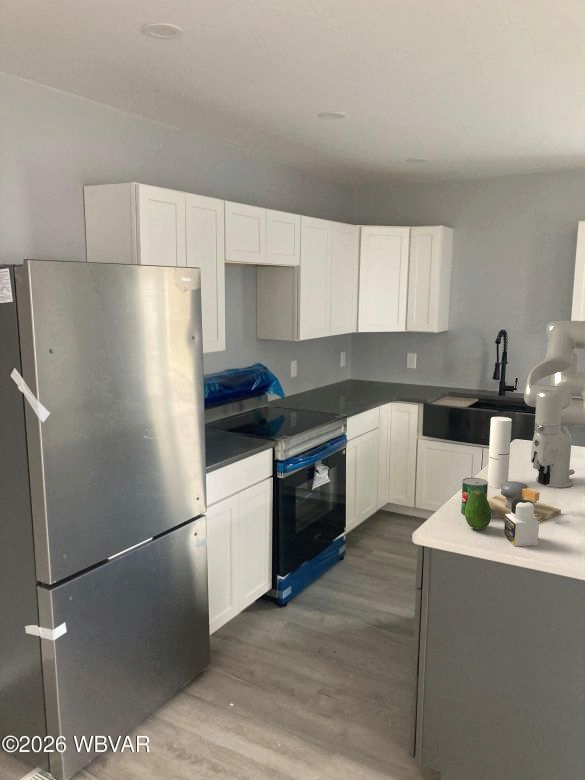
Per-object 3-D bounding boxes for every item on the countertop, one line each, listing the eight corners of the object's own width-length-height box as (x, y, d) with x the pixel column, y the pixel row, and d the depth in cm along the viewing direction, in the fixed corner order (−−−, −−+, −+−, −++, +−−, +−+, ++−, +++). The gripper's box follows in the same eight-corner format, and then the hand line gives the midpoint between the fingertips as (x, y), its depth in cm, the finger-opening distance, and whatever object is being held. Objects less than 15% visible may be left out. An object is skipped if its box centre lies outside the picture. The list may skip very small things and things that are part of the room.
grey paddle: (495, 492, 205) (496, 483, 205) (512, 489, 209) (513, 479, 208) (527, 505, 194) (528, 495, 193) (545, 500, 198) (545, 491, 197)
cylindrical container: (508, 489, 227) (513, 421, 222) (488, 487, 228) (492, 420, 224) (506, 482, 234) (510, 417, 229) (486, 481, 235) (489, 416, 231)
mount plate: (508, 496, 219) (509, 481, 218) (560, 513, 202) (561, 497, 202) (473, 506, 209) (474, 491, 208) (526, 526, 192) (527, 508, 192)
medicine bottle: (503, 536, 185) (505, 497, 183) (526, 535, 185) (529, 496, 183) (513, 546, 178) (516, 506, 176) (538, 545, 178) (541, 505, 176)
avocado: (460, 524, 194) (462, 486, 192) (485, 523, 195) (487, 486, 193) (469, 534, 186) (471, 495, 184) (495, 533, 187) (497, 495, 185)
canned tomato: (455, 511, 205) (457, 478, 203) (476, 508, 208) (477, 476, 206) (470, 519, 198) (472, 486, 196) (491, 516, 200) (493, 483, 199)
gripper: (542, 435, 193) (539, 491, 196) (572, 427, 200) (568, 482, 204) (522, 430, 199) (519, 485, 202) (551, 422, 207) (548, 475, 210)
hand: (543, 483), depth 203 cm, fingers closed
